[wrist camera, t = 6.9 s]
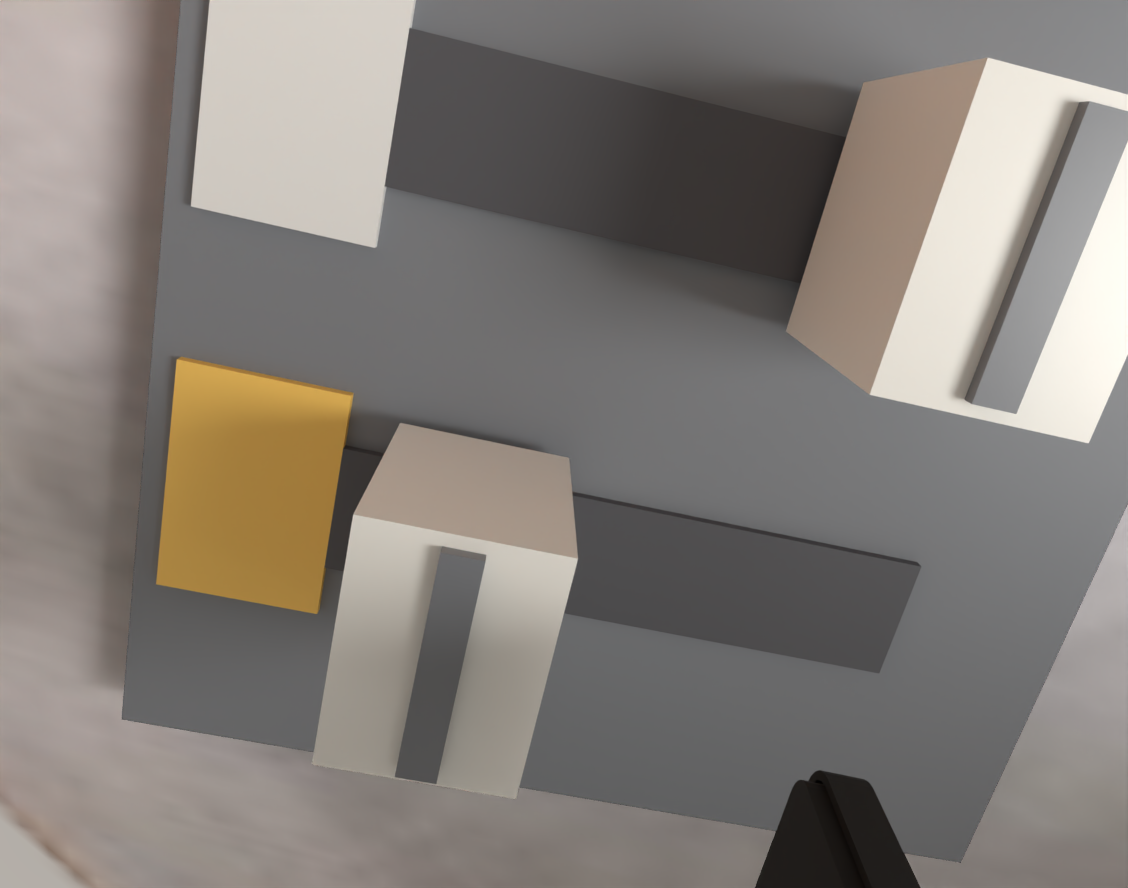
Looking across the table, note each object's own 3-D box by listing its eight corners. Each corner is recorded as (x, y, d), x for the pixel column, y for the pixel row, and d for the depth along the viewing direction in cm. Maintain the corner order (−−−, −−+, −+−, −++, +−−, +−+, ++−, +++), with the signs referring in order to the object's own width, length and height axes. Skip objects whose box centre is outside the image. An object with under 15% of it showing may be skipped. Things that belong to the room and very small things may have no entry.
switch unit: (937, 822, 20) (964, 869, 19) (146, 685, 19) (117, 725, 17) (1550, -549, 13) (1667, -629, 11) (300, -995, 11) (267, -1150, 10)
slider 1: (521, 651, 17) (515, 809, 13) (364, 622, 16) (308, 774, 12) (569, 457, 15) (578, 565, 11) (400, 422, 15) (350, 520, 11)
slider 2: (951, 369, 15) (1097, 448, 11) (785, 330, 15) (875, 399, 11) (1042, 128, 14) (1242, 121, 10) (863, 82, 14) (996, 55, 10)
